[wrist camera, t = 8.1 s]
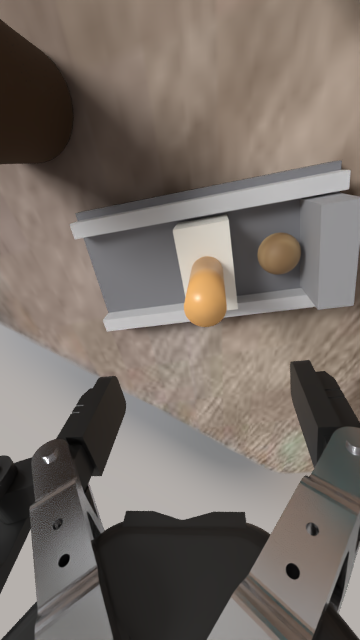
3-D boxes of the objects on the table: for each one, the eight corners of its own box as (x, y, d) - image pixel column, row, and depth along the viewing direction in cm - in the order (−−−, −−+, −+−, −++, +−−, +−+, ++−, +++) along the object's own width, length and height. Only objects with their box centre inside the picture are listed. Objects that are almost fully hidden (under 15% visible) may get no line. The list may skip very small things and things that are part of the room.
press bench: (335, 160, 27) (375, 158, 20) (328, 297, 33) (357, 329, 26) (81, 211, 31) (45, 223, 25) (117, 322, 37) (96, 355, 31)
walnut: (294, 225, 28) (306, 233, 25) (295, 264, 30) (305, 277, 26) (253, 232, 29) (259, 241, 25) (256, 270, 31) (262, 283, 27)
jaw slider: (226, 214, 28) (235, 240, 18) (235, 293, 32) (246, 355, 21) (177, 222, 29) (157, 253, 18) (191, 299, 33) (181, 361, 22)
